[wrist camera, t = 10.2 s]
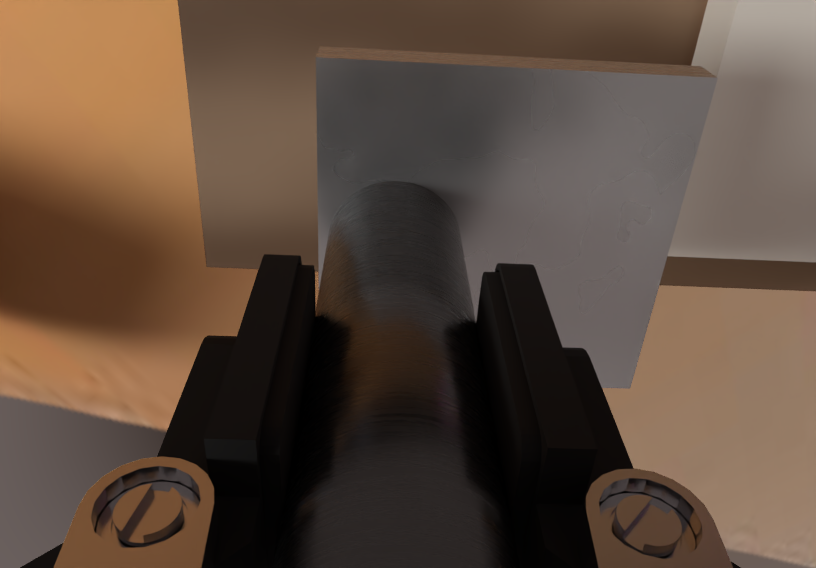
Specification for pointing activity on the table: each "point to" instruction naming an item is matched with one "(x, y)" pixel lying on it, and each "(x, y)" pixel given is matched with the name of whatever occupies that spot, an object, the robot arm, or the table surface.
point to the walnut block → (387, 30)
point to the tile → (755, 136)
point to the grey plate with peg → (466, 277)
